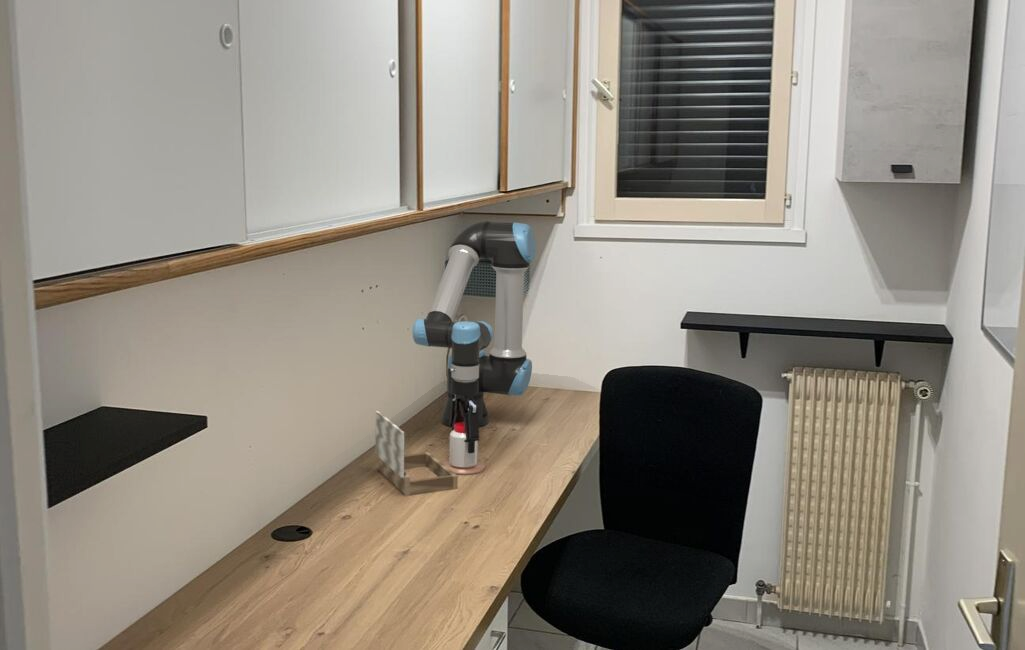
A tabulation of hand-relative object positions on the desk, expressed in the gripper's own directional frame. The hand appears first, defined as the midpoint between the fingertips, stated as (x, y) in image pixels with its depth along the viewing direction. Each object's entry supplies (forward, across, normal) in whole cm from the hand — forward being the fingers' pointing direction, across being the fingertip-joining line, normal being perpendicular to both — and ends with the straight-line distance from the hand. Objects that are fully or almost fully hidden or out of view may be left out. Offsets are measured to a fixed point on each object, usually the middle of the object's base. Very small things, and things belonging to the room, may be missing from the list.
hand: (463, 458), depth 270 cm
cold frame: (+3, +4, -15) cm, 16 cm away
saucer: (+3, 0, 0) cm, 3 cm away
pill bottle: (+1, 0, 0) cm, 1 cm away
